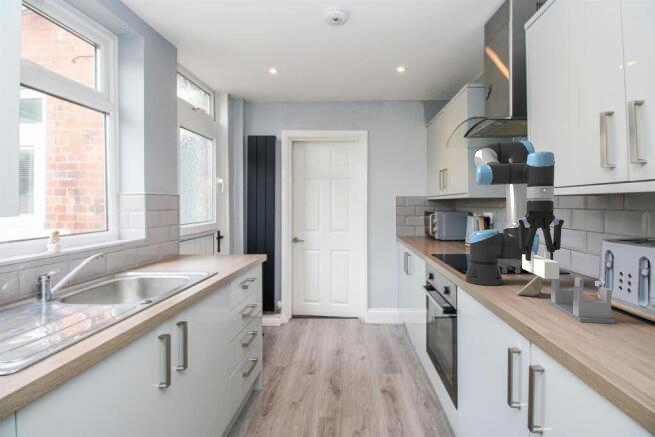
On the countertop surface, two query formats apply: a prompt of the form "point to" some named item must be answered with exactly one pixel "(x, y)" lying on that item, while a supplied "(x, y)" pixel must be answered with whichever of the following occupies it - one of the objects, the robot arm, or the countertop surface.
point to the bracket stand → (582, 303)
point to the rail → (543, 267)
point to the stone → (532, 287)
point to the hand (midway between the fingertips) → (538, 270)
